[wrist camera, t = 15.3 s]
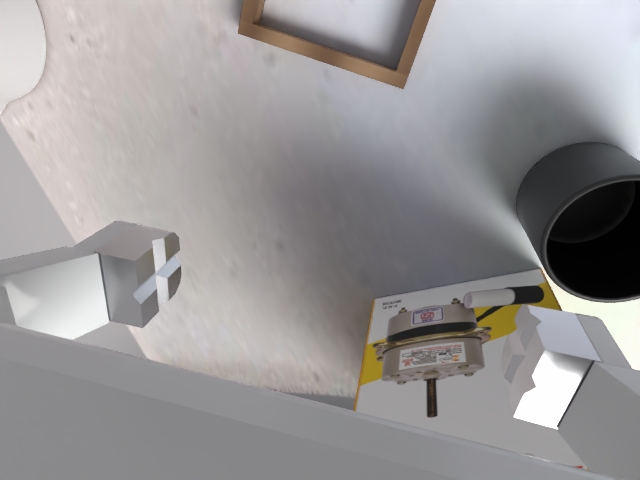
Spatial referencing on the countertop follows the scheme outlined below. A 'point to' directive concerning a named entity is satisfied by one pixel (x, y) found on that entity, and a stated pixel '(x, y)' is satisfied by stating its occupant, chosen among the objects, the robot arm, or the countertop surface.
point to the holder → (398, 78)
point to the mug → (586, 220)
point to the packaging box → (455, 363)
